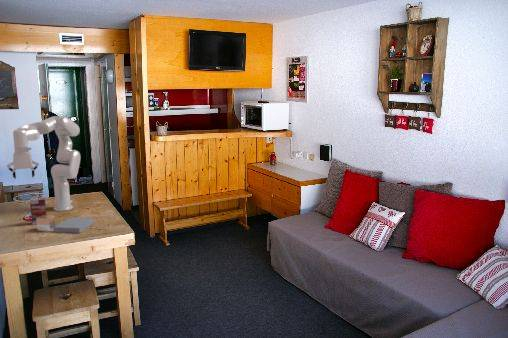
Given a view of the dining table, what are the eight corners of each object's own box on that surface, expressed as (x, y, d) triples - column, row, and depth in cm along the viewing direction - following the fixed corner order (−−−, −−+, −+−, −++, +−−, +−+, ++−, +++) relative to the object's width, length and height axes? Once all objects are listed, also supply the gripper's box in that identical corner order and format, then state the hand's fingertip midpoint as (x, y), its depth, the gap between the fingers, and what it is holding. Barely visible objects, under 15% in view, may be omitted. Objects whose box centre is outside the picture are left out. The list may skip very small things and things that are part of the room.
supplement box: (32, 225, 273) (29, 200, 270) (32, 222, 277) (29, 198, 274) (47, 223, 277) (45, 198, 274) (47, 220, 281) (44, 197, 278)
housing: (43, 227, 269) (41, 215, 267) (55, 228, 268) (54, 215, 266) (37, 230, 263) (36, 218, 261) (50, 231, 262) (49, 218, 260)
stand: (69, 222, 278) (68, 217, 278) (93, 223, 277) (93, 218, 276) (54, 232, 261) (53, 227, 260) (79, 232, 259) (79, 228, 259)
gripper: (37, 148, 272) (39, 175, 275) (5, 150, 264) (8, 177, 267) (37, 150, 265) (39, 177, 268) (5, 151, 257) (7, 180, 260)
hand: (24, 177), depth 268 cm, fingers open, 9 cm apart
